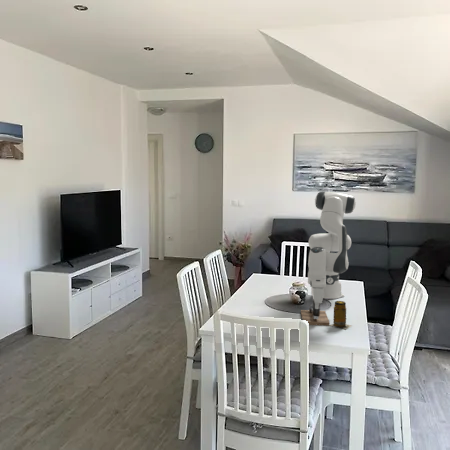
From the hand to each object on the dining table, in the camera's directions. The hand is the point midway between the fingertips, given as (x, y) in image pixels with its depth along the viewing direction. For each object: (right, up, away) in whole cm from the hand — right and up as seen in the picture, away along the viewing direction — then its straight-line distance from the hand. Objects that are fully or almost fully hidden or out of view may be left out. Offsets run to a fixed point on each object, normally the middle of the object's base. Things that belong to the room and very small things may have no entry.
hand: (316, 307), depth 229 cm
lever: (+1, -6, +8) cm, 10 cm away
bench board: (+1, -8, +9) cm, 12 cm away
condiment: (+12, -9, -2) cm, 15 cm away
